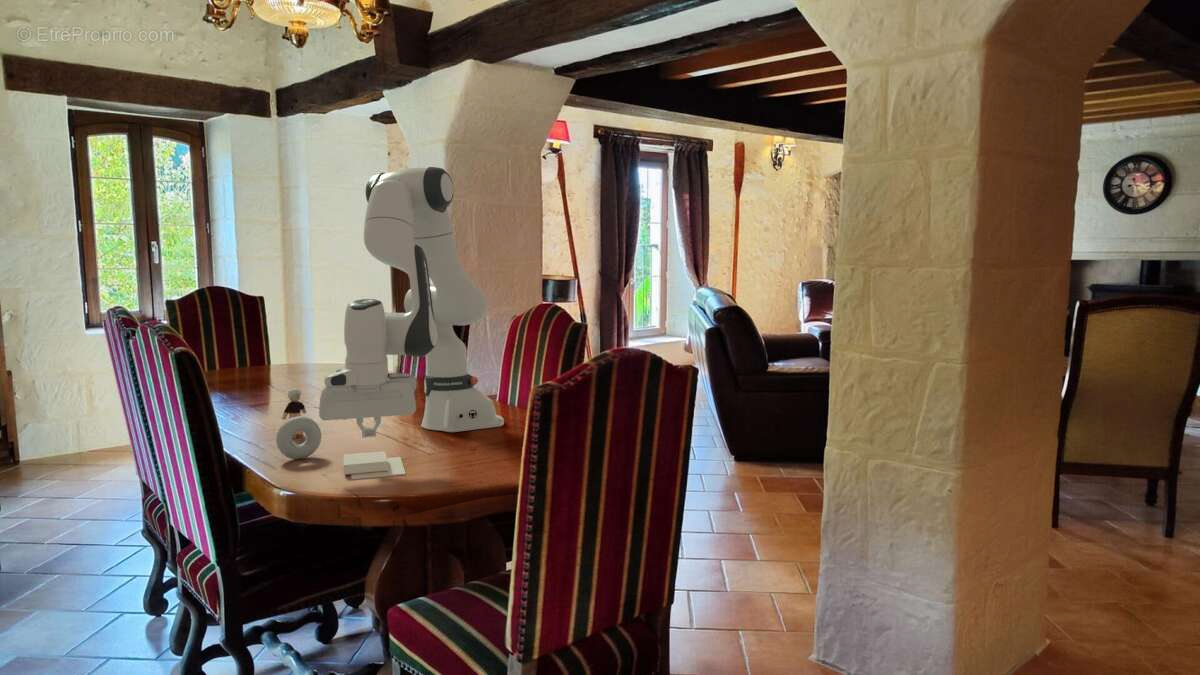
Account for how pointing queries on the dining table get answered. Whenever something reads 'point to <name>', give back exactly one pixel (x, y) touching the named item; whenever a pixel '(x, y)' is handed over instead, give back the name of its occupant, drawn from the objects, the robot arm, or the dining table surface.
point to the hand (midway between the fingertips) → (369, 437)
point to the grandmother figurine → (294, 408)
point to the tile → (365, 463)
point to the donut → (293, 426)
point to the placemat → (393, 470)
